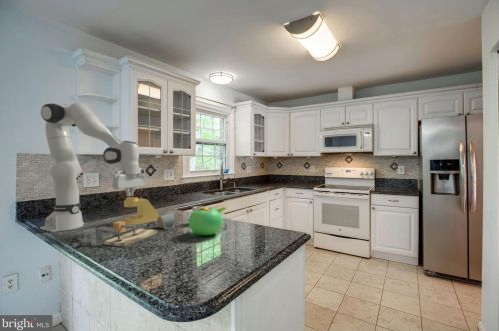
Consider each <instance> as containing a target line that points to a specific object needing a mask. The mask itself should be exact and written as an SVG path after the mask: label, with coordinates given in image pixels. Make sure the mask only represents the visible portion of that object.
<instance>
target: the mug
mask: <svg viewBox="0 0 499 331" xmlns="http://www.w3.org/2000/svg"><path fill="white" fill-rule="evenodd" d="M200 207H204V208H208V207H207V206H205V205H198V206H197V205H196V206H193V207H192V211H191V212H190V215H191V214H192V213H193V212H194V211H195V210H197V209H200Z"/></svg>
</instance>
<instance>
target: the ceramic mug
mask: <svg viewBox="0 0 499 331" xmlns="http://www.w3.org/2000/svg"><path fill="white" fill-rule="evenodd" d="M156 222H157V226H158V228H159V229H165V230H166V231H171V230H173V229H174V228H175V224H176V218H175V215H174V214H173V213H172V212H171V213H167V214H163V215H160V216H159V217H158V219H157V221H156Z"/></svg>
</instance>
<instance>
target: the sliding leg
mask: <svg viewBox="0 0 499 331" xmlns="http://www.w3.org/2000/svg"><path fill="white" fill-rule="evenodd" d="M136 227H137V225H125V222H124V220H123V221H121V220H119V221H115V222H112V230H114V231H120V233H122V232H124V231H125V229H128V228H133V233H135V228H136Z"/></svg>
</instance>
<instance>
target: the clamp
mask: <svg viewBox="0 0 499 331" xmlns="http://www.w3.org/2000/svg"><path fill="white" fill-rule="evenodd" d="M135 207H136V210H137V211H136V214H137V215H132V216H128V217H124V220H123V221H124V222H125V225H132V226H137V225H141V224H145V223H151V222H157V219H158V217H159V216H161V215H160V214H159V212H158V211H157V210H156V209H155V207H154V206H153V205H152V204H151V202H150V201H149V200H148V199H147V198H142V197H141V198H139V197H138V196H129V197H126V198H125V199H124V200H123V208H135Z"/></svg>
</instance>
